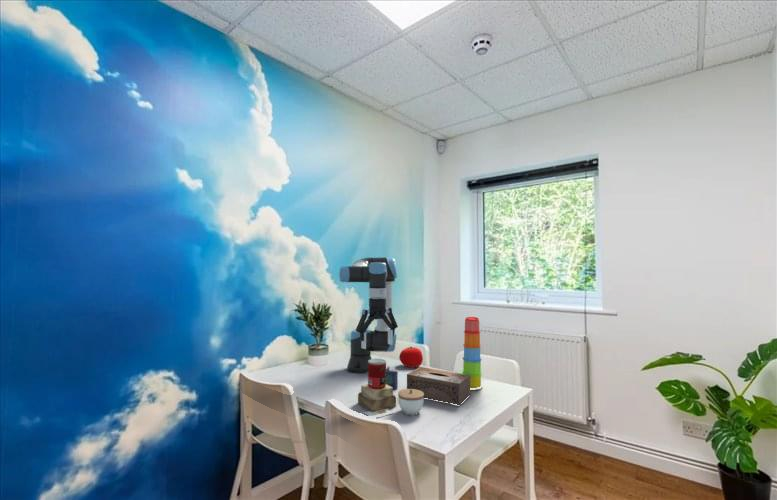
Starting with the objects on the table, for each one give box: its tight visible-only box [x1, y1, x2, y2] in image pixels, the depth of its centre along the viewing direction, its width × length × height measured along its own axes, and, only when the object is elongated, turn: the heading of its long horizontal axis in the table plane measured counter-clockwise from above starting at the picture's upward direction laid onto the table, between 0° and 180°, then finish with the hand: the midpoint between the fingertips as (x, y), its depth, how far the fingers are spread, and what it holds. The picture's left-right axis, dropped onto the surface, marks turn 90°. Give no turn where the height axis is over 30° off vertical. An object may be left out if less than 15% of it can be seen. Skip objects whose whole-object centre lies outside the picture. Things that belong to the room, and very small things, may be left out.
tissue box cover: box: [406, 366, 471, 405], centre depth 173 cm, size 26×14×10 cm, turn 59°
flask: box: [386, 366, 399, 391], centre depth 182 cm, size 9×3×11 cm, turn 74°
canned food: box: [367, 358, 387, 389], centre depth 161 cm, size 8×8×11 cm
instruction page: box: [364, 409, 395, 418], centre depth 152 cm, size 10×7×1 cm
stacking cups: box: [461, 316, 483, 388], centre depth 185 cm, size 10×10×35 cm
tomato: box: [398, 346, 424, 368], centre depth 220 cm, size 12×14×11 cm
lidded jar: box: [397, 388, 425, 415], centre depth 153 cm, size 11×11×9 cm
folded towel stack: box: [357, 383, 397, 412], centre depth 161 cm, size 12×12×8 cm
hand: (377, 346), depth 162 cm, fingers open, 13 cm apart
